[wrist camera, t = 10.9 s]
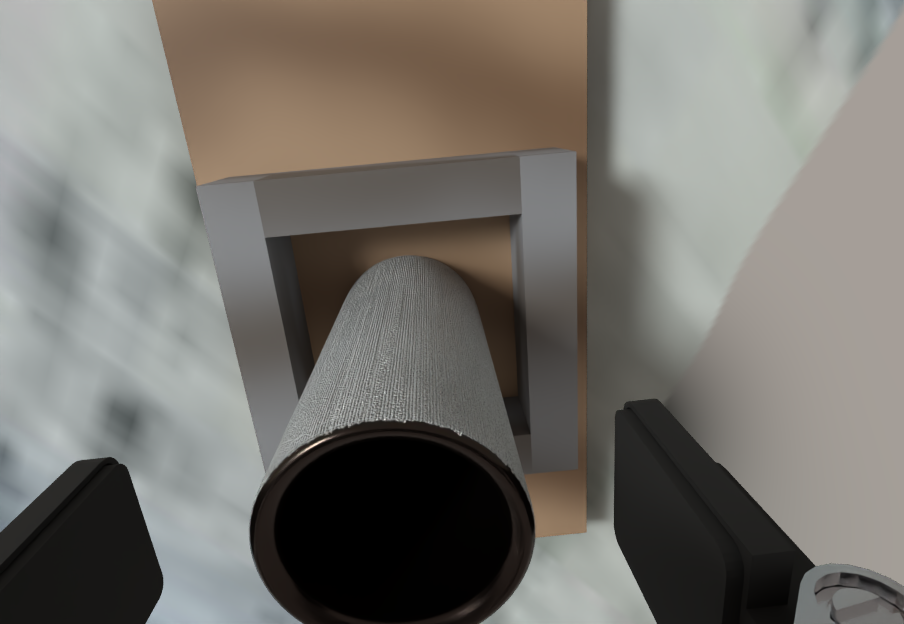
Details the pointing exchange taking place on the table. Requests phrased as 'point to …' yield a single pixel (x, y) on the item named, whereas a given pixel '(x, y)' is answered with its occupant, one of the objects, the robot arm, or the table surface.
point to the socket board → (398, 190)
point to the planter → (397, 466)
